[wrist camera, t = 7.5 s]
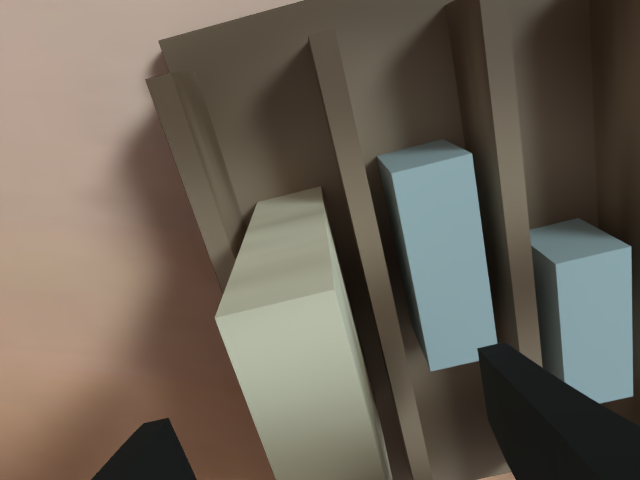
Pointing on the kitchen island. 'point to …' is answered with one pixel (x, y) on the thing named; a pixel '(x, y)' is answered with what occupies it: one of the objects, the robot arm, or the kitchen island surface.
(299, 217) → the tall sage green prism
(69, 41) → the kitchen island surface
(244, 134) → the rack
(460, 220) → the offcut
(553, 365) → the offcut
